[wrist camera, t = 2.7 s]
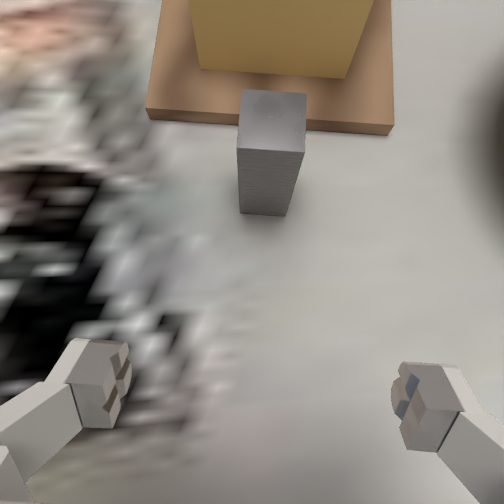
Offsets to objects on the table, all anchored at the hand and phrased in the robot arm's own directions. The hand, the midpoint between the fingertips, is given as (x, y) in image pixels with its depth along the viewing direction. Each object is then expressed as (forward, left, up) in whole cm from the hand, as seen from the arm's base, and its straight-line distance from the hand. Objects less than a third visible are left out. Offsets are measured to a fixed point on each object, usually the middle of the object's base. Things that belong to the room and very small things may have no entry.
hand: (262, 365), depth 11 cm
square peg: (0, +12, -16) cm, 20 cm away
